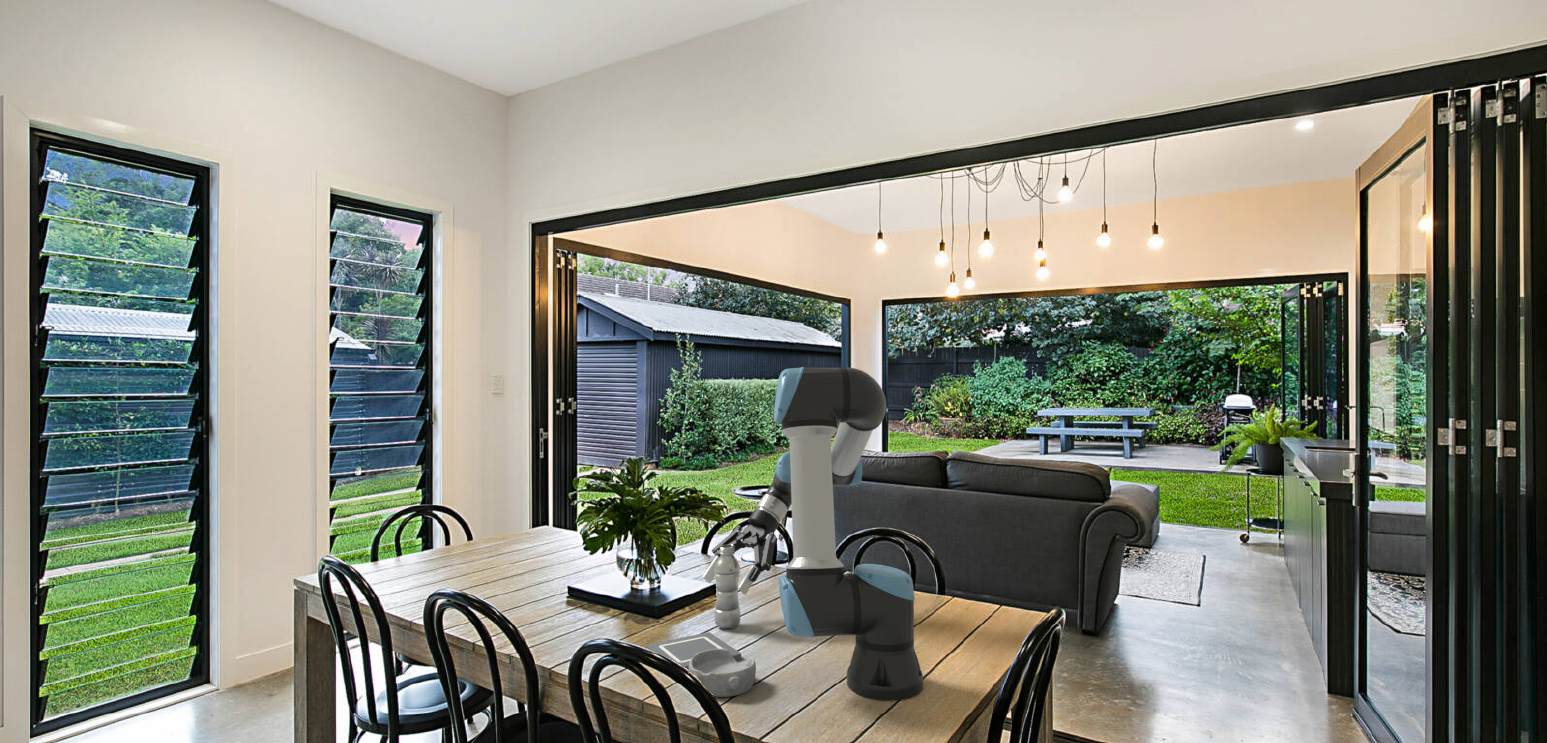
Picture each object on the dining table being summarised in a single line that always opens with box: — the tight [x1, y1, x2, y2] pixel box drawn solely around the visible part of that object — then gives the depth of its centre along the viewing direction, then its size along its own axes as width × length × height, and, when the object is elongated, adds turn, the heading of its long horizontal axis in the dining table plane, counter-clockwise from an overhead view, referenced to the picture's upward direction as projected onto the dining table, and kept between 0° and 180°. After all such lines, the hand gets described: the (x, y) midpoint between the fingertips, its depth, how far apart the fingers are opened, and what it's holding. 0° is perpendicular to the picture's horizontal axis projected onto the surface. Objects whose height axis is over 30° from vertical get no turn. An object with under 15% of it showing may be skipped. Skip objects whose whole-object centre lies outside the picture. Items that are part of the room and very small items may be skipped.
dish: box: [688, 649, 757, 698], centre depth 147 cm, size 14×14×5 cm
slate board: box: [645, 632, 742, 670], centre depth 164 cm, size 16×16×1 cm
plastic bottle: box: [714, 545, 742, 629], centre depth 182 cm, size 6×7×20 cm
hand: (723, 585), depth 181 cm, fingers open, 13 cm apart
